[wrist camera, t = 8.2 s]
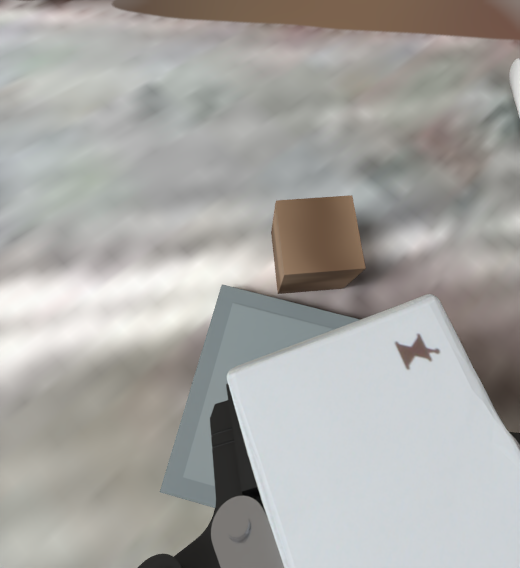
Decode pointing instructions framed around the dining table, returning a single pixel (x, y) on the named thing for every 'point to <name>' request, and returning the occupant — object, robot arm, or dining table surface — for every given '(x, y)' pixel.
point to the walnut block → (316, 244)
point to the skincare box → (381, 448)
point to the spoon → (515, 83)
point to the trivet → (215, 366)
